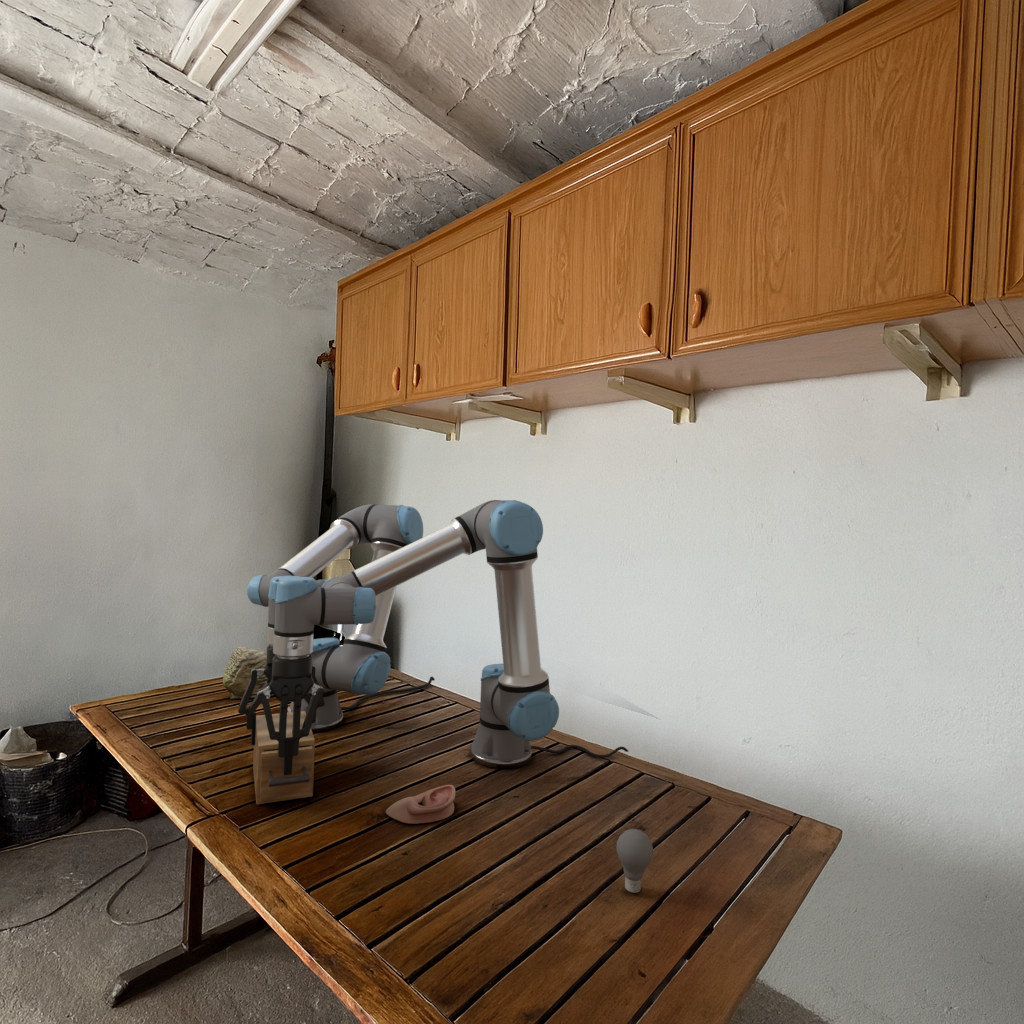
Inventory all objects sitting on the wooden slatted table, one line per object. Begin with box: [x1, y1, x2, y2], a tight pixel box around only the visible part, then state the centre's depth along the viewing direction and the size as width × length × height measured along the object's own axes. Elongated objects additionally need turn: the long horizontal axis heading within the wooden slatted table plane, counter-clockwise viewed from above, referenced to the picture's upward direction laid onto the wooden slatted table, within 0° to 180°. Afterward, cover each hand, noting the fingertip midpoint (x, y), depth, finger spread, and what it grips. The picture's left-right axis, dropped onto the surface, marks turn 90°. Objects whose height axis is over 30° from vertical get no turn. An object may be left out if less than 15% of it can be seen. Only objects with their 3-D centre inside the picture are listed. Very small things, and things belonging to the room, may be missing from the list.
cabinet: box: [252, 711, 316, 805], centre depth 140 cm, size 19×11×12 cm, turn 24°
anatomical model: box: [385, 784, 456, 825], centre depth 129 cm, size 13×4×12 cm
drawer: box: [260, 746, 313, 804], centre depth 135 cm, size 23×10×10 cm, turn 24°
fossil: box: [222, 646, 275, 699], centre depth 198 cm, size 9×18×15 cm, turn 132°
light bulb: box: [615, 828, 654, 894], centre depth 106 cm, size 6×6×10 cm
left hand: (281, 740), depth 145 cm, fingers closed on cabinet, 11 cm apart
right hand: (287, 771), depth 127 cm, fingers closed
